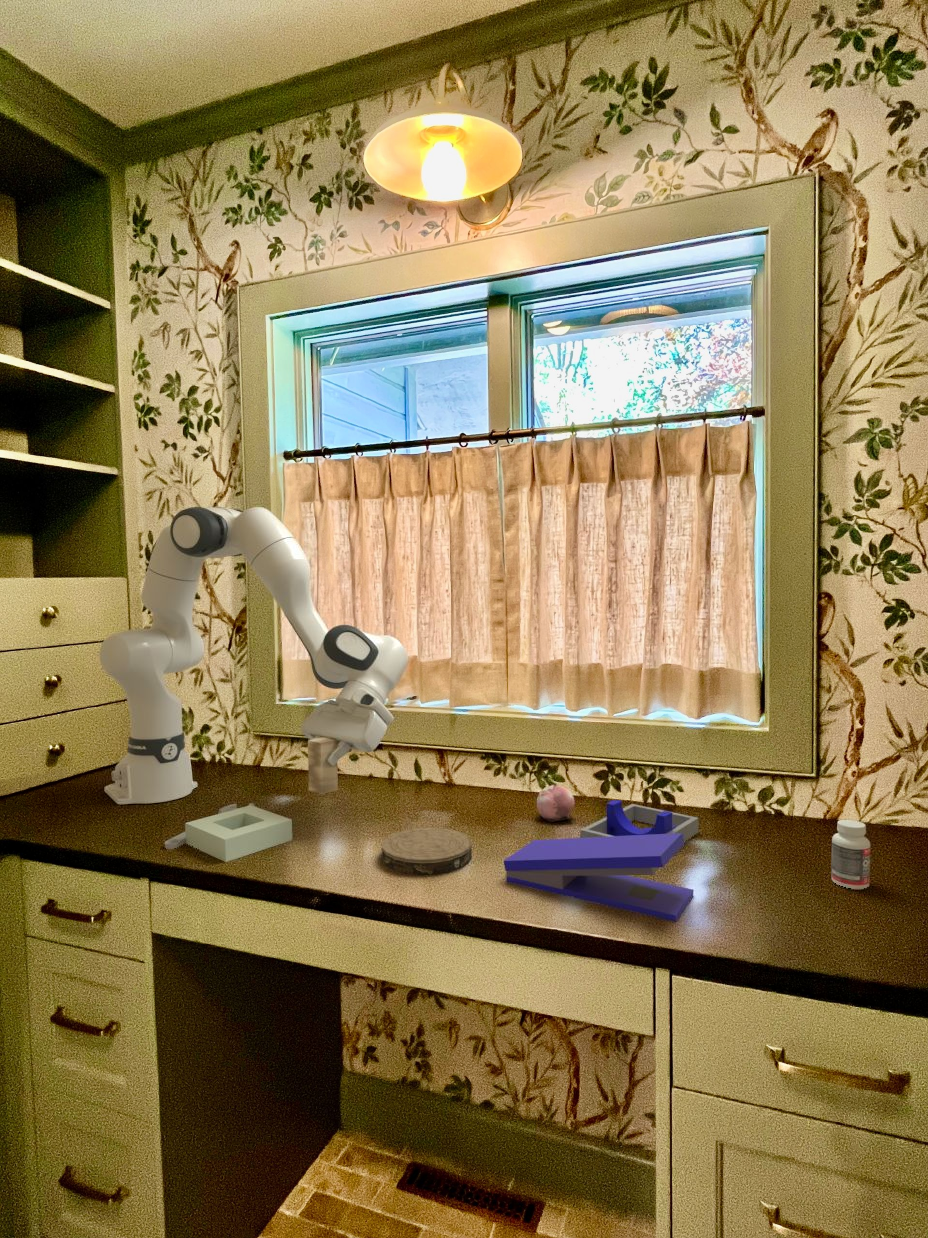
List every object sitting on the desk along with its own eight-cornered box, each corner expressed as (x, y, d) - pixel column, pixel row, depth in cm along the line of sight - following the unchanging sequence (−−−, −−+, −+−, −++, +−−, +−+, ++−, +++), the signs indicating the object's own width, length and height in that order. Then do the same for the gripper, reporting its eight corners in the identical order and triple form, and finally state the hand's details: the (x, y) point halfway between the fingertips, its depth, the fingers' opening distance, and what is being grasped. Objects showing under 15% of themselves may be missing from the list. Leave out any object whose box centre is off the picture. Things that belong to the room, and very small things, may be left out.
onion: (532, 824, 147) (526, 789, 149) (557, 819, 152) (551, 785, 154) (560, 821, 142) (554, 784, 143) (586, 816, 147) (579, 780, 149)
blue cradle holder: (675, 842, 133) (676, 810, 133) (664, 849, 130) (664, 816, 129) (618, 828, 141) (618, 798, 141) (606, 834, 138) (606, 803, 138)
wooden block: (308, 790, 141) (307, 740, 141) (325, 786, 144) (324, 736, 144) (321, 794, 139) (320, 743, 138) (337, 789, 142) (337, 739, 141)
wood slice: (363, 861, 127) (362, 845, 127) (426, 837, 139) (425, 822, 139) (428, 886, 116) (428, 867, 116) (490, 857, 128) (490, 840, 128)
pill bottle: (872, 893, 111) (873, 830, 111) (833, 888, 113) (834, 826, 113) (866, 879, 116) (867, 820, 116) (829, 874, 118) (830, 816, 118)
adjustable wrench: (173, 853, 133) (173, 844, 133) (146, 849, 135) (146, 839, 135) (259, 811, 156) (259, 803, 156) (235, 808, 158) (235, 800, 158)
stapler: (674, 926, 102) (674, 858, 102) (501, 884, 117) (500, 825, 116) (694, 895, 112) (695, 833, 111) (532, 860, 127) (532, 805, 126)
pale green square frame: (185, 844, 136) (185, 823, 136) (250, 824, 146) (250, 805, 146) (225, 862, 127) (225, 839, 126) (292, 840, 137) (291, 819, 137)
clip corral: (580, 845, 133) (580, 829, 132) (632, 818, 148) (632, 803, 147) (650, 864, 123) (650, 847, 123) (698, 833, 138) (698, 817, 138)
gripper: (317, 690, 153) (279, 744, 146) (383, 700, 139) (344, 760, 132) (334, 708, 156) (297, 761, 149) (400, 720, 143) (363, 779, 136)
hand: (320, 761), depth 141 cm, fingers closed on wooden block, 4 cm apart
